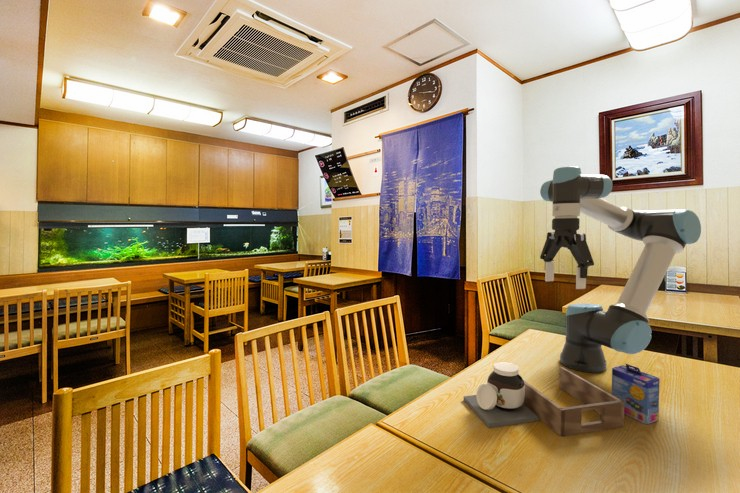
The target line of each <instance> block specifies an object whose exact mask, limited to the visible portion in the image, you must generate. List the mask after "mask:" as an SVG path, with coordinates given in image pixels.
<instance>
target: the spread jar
mask: <svg viewBox="0 0 740 493" xmlns="http://www.w3.org/2000/svg"><path fill="white" fill-rule="evenodd" d="M524 381H525V380H524V379H523V377H522V376H521V374H519V366H517V365H516V364H514V363H511V362H506V361H500V362H495V363H494V364H493V371H492V372H490V373H489V375H488V377H487V381H486V383H483V384H480V385H479V386H478V388H477V391H476V394H475V395H476V398H477V402H478V404H479V406H480V407H481V408H482V409H486V410H491V409H493V408H494V407H496V408H498V409H500V410H504V411H515V410H517V409H519V408H520V407H521V406H522V404H523V403H524V399H525V383H524Z"/></svg>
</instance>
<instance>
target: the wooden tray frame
mask: <svg viewBox="0 0 740 493" xmlns="http://www.w3.org/2000/svg"><path fill="white" fill-rule="evenodd" d="M558 369H559V370H558V373H559V374H558V388H559V389H560V390H562V391H563V392H565V393H567V394H568V395H570V396H571V397H573V398H575V399H576V400H577V401H579V402H580V403H581V404H580V405H573V406H566V407H565V406H564V407H562V406H560V405H558V404H557V402H555V401H553V400H552V399H550V398H549V397H548V396H546V395H545V394H544V393H542V392H541V391H539V390H538V389H536V388H535V387H533V385H531V384H530V383H528V382H527V381H526V380H524V383H525V399H524V403H523V404H524V405H525V406H526V407H527V408H528V409H530V410H531V411H532V412H533V413H535V414H536V415H537V416H538V420H540V421H542V423H544V424H545V425H546V426H547V427H548V428H550V429H551V430H552V431H554V432H555V433H556V434H557V435H559V437H567V436H573V435H579V434H585V433H593V432H599V431H606V430H611V429H618V428H624V426H625V425H624V423H625V414H624V401H622V400H621V399H619V398H617V397H615V396H613V395H612V393H611V392H610V393H609V391H606V390H605V389H602V388H601V387H599V386H597V385H595V384H594V383H592V382H590V381H589V380H586V379H585V378H583V377H581V376H579V375H578V374H576V373H575V372H572V371H570V370H569V369H567V368H565V367H563V366H559V367H558ZM586 411H594V412H596V413H597V414H599V415H600V416H601V419H600V420H597V421H596V420H595V421H590V422H589V421H587V422H583V423H582V417H583V415H582V413H583V412H586Z"/></svg>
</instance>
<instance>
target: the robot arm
mask: <svg viewBox="0 0 740 493" xmlns="http://www.w3.org/2000/svg"><path fill="white" fill-rule="evenodd" d="M552 174H553V175H552V179H551V180H547V181H545V182H543V184H542V185H541V187H540V189H539V190H540V191H539V192H540V193H539V194H540V196H541V198H542V200H544V201H546V202H551V203H552V210H551V211H552V214H551V216H552V217H554V218H552V219H551V229H552V230H553V232H552V231H551V232H547V233H546V240H545V242H544V245H543V247H542V250H541V253H540V256H539V259H541V260H543V262H544V271H545V272H544V274H545V276H544V281H545V282H554V281H555V260H554V258H555V257H556V255H557V254H558V253H559V251H560V250H561V248H567V249H568V250H569V252H570V253H571V254H572V256H573V258H574V260H575V262H576V264H577V266H576V268H575V269H576V270H575V272H576V273H575V274H576V275H575V290H585V289H587V288H586V287H587V278H588V270H589V269H588V268H589V267H591V266H592V267H593V266H594V265H595V262H594V259H593V256H592V253H591V252H590V248H589V245H588V242H587V235H586V233H577V231H578V230H580V218H578V217H580V216H581V213H582V214H583V215H586V216H588V217H590V218H592V219H594V220H596V221H598V222H600V223H603V224H605V225H606V226H607V227H608V229H609V230H611V231H613V232H615V233H617V234H620V235H622V236H624V237H627V238H629V239H632V240H636V241H641V242H642V243H643V244H644V247H643V250H642V251H641V253H640V255H639V257H638V259H637V261H636V263H635V266H634V267H633V269H632V271H631V274H630V276H629V278H628V280H627V282H626V284H625V285H624V288H623V290H622V292H621V294H620V295H619V298H618V300H617V302H616V303H613V304H610V305H609V306H608V308H607V310H606V311H604V308H603V306H602V305H601V304H598V303H597V304H596V303H572V304H569V305H568V306H567V307H566V312H565V342H564V345H563V348H562V351H561V352H560V356H559V362H560V364H561V365H563V366H565V367H567V368H569V369H571V370H575V371H578V372H583V373H584V372H585V373H602V372H605V371H606V370H607V365H608V364H607V360H606V357H605V354H604V351H603V348H602V346H604V347H606V348H609V349H612V350H614V351H616V352H620V353H624V354H628V355H636V354H638V353H641V352H642V351H644V350H645V349H646V348H647V347H648V346H649V344H650V342H651V340H652V333H653V332H652V328H651V326H650V325H649V323H650V319H649V318H648V317H647V313H648V311H649V309H650V307H651V304H652V303H653V300H654V299H655V296H656V294H657V292H658V290H659V287H660V286H661V284H662V282H663V280H664V278H665V276H666V274H667V271H668V269H669V268H670V265H671V263H672V261H673V259H674V256H675V255H676V254H680V253H682V252H684V249H685V247H686V245H693V244H695V243H698V240H699V239H700V237H701V234H702V226H701V221H700V218H699V216H698V215H697V214H696V213H695V212H694V211H693V210H690V209H679V208H675V209H657V210H655V209H652V210H650V209H649V210H644V209H643V210H642V209H641V210H640V209H631V208H629V207H627V206H619V205H616V204H614V203H613V202H610V201H608V200H606V199H605V198H606V197H607V196H609V195H610V194H611V192H612V190H613V180H612V179H611V178H610V177H609V176H608V175H605V174H600V173H598V174H597V173H596V174H583V173H582V171H581V167H579V166H573V165H572V166H561V167H558V168H555V169H554V170H553V173H552Z"/></svg>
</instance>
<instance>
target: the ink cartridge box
mask: <svg viewBox="0 0 740 493" xmlns="http://www.w3.org/2000/svg"><path fill="white" fill-rule="evenodd" d="M611 394H612V395H613V396H615V397H617V398H619V399H621V400H622V401H624V415H626V416H628V417H630V418H632V419H634V420H636V421H639V422H640V423H641V424H644V425H649V424H652V423H655V422H658V421H659V412H660V403H659V402H660V378H659V377H658V376H655V375H652V374H650V373H647V372H644V371H641V370H640V368H639V367H638V366H633V365H631V364H628V363H625V365H624V364H623V365H619V366H615V367H613V368H611Z"/></svg>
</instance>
